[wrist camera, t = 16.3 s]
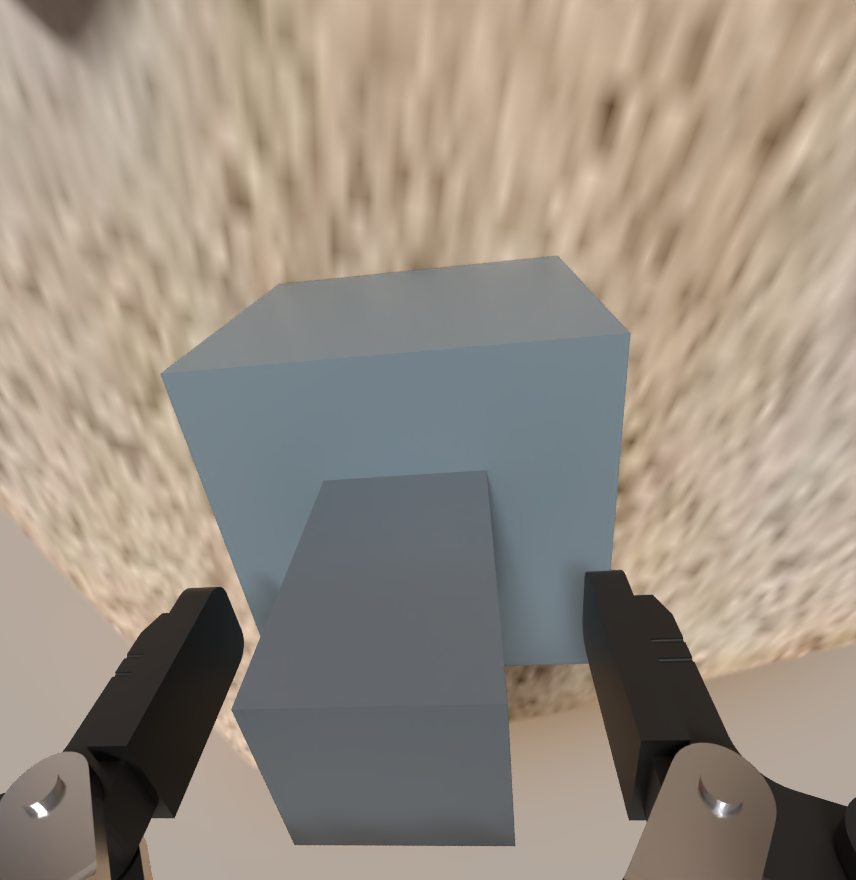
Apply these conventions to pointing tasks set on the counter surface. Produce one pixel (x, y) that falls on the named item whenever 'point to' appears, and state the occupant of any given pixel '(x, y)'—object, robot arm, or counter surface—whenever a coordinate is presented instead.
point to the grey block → (406, 528)
